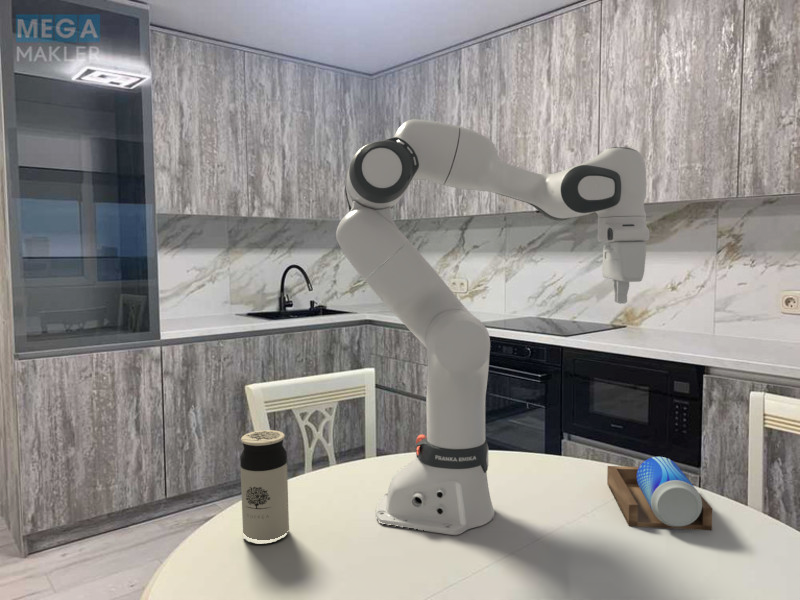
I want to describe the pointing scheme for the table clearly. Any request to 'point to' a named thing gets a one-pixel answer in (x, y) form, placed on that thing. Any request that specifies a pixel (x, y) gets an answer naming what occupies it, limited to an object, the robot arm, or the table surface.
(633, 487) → the open box
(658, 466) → the beer can
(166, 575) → the table surface
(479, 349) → the robot arm
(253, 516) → the travel mug
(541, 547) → the table surface
